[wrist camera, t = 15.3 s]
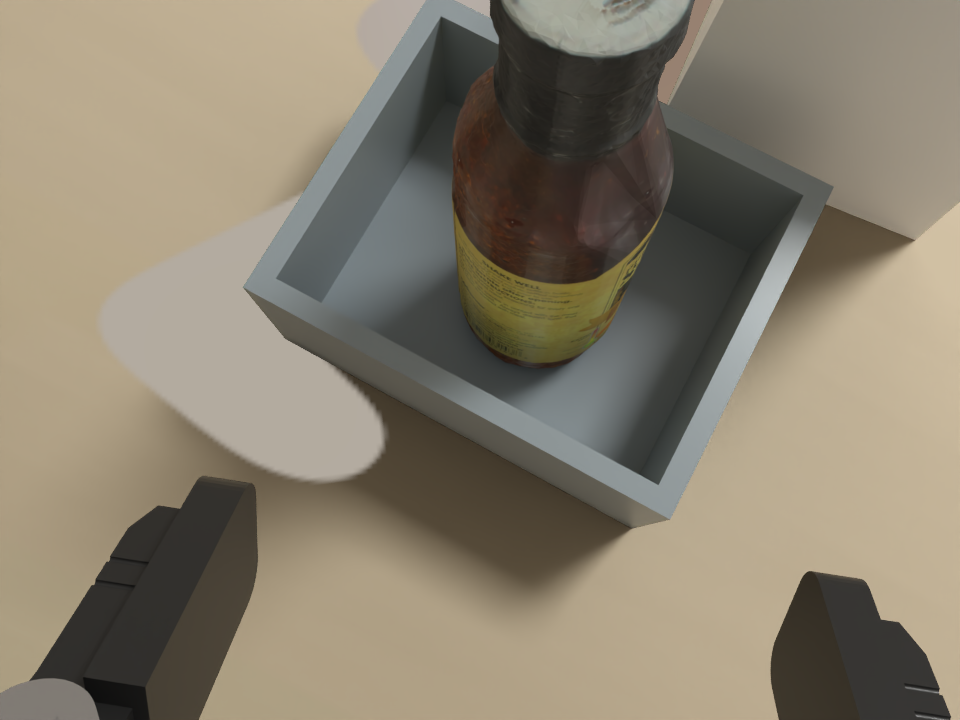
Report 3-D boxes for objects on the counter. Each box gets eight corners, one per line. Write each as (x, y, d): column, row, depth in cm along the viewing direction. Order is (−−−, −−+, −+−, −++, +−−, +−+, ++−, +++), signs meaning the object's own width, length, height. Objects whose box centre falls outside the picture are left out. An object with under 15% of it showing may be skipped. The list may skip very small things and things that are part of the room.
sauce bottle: (624, 364, 36) (802, 123, 16) (469, 383, 35) (464, 164, 16) (597, 211, 37) (732, -175, 18) (448, 229, 37) (421, -141, 18)
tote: (285, 338, 37) (242, 287, 30) (439, 89, 39) (432, -11, 33) (632, 528, 35) (670, 519, 28) (769, 255, 38) (833, 186, 31)
